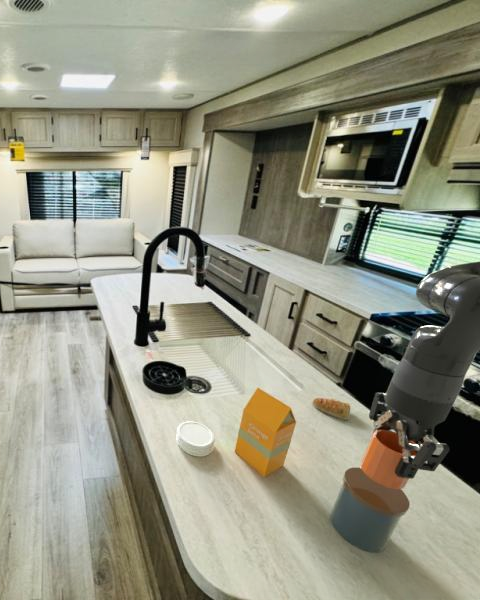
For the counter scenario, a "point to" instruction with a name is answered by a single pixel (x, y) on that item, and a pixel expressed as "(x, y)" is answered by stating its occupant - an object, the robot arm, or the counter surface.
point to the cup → (384, 459)
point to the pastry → (333, 407)
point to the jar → (367, 511)
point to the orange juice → (265, 432)
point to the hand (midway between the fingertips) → (389, 459)
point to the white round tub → (195, 438)
